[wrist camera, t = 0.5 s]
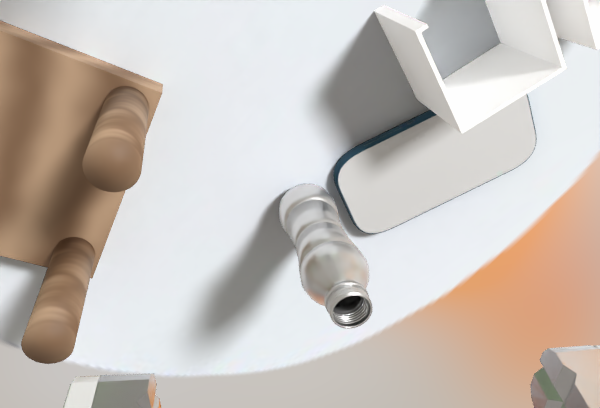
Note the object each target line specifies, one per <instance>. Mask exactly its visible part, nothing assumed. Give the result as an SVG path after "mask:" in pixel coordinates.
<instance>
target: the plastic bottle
mask: <svg viewBox="0 0 600 408" xmlns="http://www.w3.org/2000/svg"><path fill="white" fill-rule="evenodd" d="M279 219H280V223H281V225H282V227H283V228H284V230H285V232H286V233H287V234H288V236H289V237H290V238H291V240H292V242H293V244H294V246H295V248H296V252H297V256H298V261H299V271H300V278H301V283H302V286H303V289H304V291H305V292H306V293H307V294H308V295H309V296H310V298H311V299H313V300H314V301H315V302H316V303H318V304H320V305H323V306H325V307H326V309H327V311H328V313H329V314H330V316H331V318H332V320H333V322H334V323H335V324H336V325H338V326H340V327H342V328H355V327H358V326H360V325H362V324H364V323H365V322H366V321H367V320H368V319H369V317H370V316H371V313H372V304H371V301H370V299H369V296H368V293H367V291H366V287H367V285H368V282H369V267H368V263H367V261H366V259H365V257H364V256H363V254H362V253H361V252H360V250H359V249H358V248H357V247H356V246H355V245H354V243H353V242H352V241H351V240H350V239H349V238H348V236H347V234H346V233H345V231H344V230H343V228H342V226H341V223H340V220H339V215H338V210H337V206H336V203H335V200H334V199H333V198H332V196H331V195H330V194H329V193H328V192H327V191H326V190H324V189H323V188H322V187H320V186H317V185H315V184H301V185H297V186H295V187H293V188H291V189H290V190H289V191H287V192H286V193H285V195H284V196H283V197H282V199H281V202H280V206H279Z"/></svg>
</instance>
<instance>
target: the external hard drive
mask: <svg viewBox="0 0 600 408" xmlns="http://www.w3.org/2000/svg"><path fill="white" fill-rule="evenodd" d="M535 146H536V132H535V126H534V122H533V117H532V112H531V108H530V103H529V99H528V95H527V94H525V95H524V96H522V97H520V98H519V99H517V100H516V101H514V102H512V103H511V104H509V105H508V106H506V107H504V108H503V109H501V110H500V111H498V112H496V113H495V114H493V115H492V116H490V117H488V118H487V119H485V120H484V121H482V122H480V123H479V124H477V125H475V126H474V127H472V128H471V129H469V130H467V131H466V132H464V133H463V134H461V133H460V132H459V131H457V130H456V129H455V128H454V127H452V126H451V125H450V124H448V123H447V122H446V121H444V120H443V119H442V118H440V117H439V116H438V115H437V114H435V113H434V112H433V111H431V110H429V111H427V112H425V113H423V114H421V115H419V116H417V117H415V118H413V119H411V120H409V121H407V122H405V123H403V124H401V125H399V126H397V127H395V128H393V129H391V130H389V131H387V132H385V133H383V134H381V135H379V136H377V137H375V138H372V139H370V140H368V141H366V142H364V143H362V144H360V145H358V146H356V147H355V148H353V149H351V150H350V151H348V152H347V153H345V154H344V155H343V156H342V157H341V158H340V159H339V161H338V162H337V164H336V166H335V169H334V181H335V184H336V187H337V189H338V191H339V194H340V196H341V198H342V200H343V202H344V204H345V207H346V209H347V211H348V213H349V215H350V218H351V219H352V221H353V223H354V225H355V226H356V227H357V228H358V229H359V230H361V231H362V232H365V233H368V234H375V233H381V232H384V231H387V230H390V229H392V228H394V227H396V226H398V225H400V224H402V223H404V222H407V221H409V220H411V219H413V218H415V217H417V216H419V215H421V214H423V213H425V212H427V211H429V210H431V209H433V208H435V207H437V206H439V205H441V204H444V203H446V202H448V201H450V200H452V199H454V198H456V197H458V196H460V195H462V194H464V193H466V192H468V191H470V190H472V189H474V188H476V187H479V186H481V185H483V184H485V183H487V182H489V181H491V180H493V179H495V178H497V177H499V176H501V175H503V174H505V173H507V172H509V171H511V170H513V169H515V168H517V167H518V166H520V165H521V164H523V163H524V162H525V161H526V160H527V159H528V158H529V157H530V156H531V155H532V153H533V151H534V149H535Z"/></svg>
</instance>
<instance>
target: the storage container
mask: <svg viewBox="0 0 600 408" xmlns="http://www.w3.org/2000/svg"><path fill="white" fill-rule="evenodd" d="M485 3H486V5H487V8H488V11H489V13H490V16H491V19H492V21H493V24H494V27H495V29H496V32H497V35H498V37H499V40H500V44H498V45H497V46H495V47H493V48H492V49H490V50H489V51H487V52H486V53H484V54H482V55H481V56H479V57H478V58H476V59H475V60H473V61H471V62H470V63H468V64H467V65H465V66H464V67H462V68H460V69H459V70H457V71H456V72H454V73H452V74H451V75H449V76H448V77H446V78H445V79H443V80H442V78H441V76H440V74H439V72H438V69H437V67H436V65H435V63H434V60H433V58H432V56H431V54H430V52H429V49H428V47H427V45H426V43H425V41H424V38H423V36H422V34H421V32H423V31H424V30H426V29H427V28H428V25H427V24H426V23H424V22H422V21H420V20H417V19H415V18H413V17H410V16H408V15H406V14H404V13H401V12H399V11H397V10H394V9H392V8H390V7H388V6H385V5H382V6H381V7H379V8H378V9H376V10H375V11H374V12H375V14H376V16H377V18H378V20H379V23H380V25H381V27H382V29H383V31H384V33H385V35H386V37H387V39H388V41H389V43H390V45H391V47H392V49H393V51H394V53H395V55H396V57H397V59H398V61H399V63H400V65H401V68H402V70H403V72H404V74H405V76H406V78H407V80H408V82H409V84H410V86H411V88H412V90H413V92H414V94H415V96H416V98H417V100H418V101H420V102H421V103H422V104H424V105H425V106H426V107H427V108H429V109H430V110H431V111H433V112H434V113H435V114H437V115H438V116H439V117H440V118H442V119H443V120H444V121H446V122H447V123H448V124H450V125H451V126H452V127H454V128H455V129H456V130H457V131H459V132H460V133H461V134H463V133H464V132H466V131H467V130H469V129H471V128H472V127H474V126H475V125H477V124H479V123H480V122H482V121H484V120H485V119H487V118H488V117H490V116H492V115H493V114H495V113H496V112H498V111H500V110H501V109H503V108H504V107H506V106H508V105H509V104H511V103H512V102H514V101H516V100H517V99H519V98H520V97H522V96H524V95H525V94H527V93H528V92H530V91H532V90H533V89H535V88H536V87H538V86H540V85H541V84H543V83H544V82H546V81H548V80H549V79H551V78H552V77H554V76H556V75H557V74H559V73H561V72H562V71H564V70H565V69H567V68H566V64H565V61H564V58H563V55H562V51H561V48H560V45H559V42H558V39H557V37H558V38H561V39H564V40H567V41H570V42H574V43H577V44H580V45H583V46H586V47H589V48H592V49H595V50H597V49H599V48H600V0H485Z"/></svg>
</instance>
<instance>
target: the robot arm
mask: <svg viewBox="0 0 600 408" xmlns="http://www.w3.org/2000/svg"><path fill="white" fill-rule="evenodd" d="M540 362H541V364H542V365H543V368H541V369H540V370H539V371H537V372H536V373H535V374H534V376H533V379H532V382H531V398H532V401H533V405H534V408H600V345H598V346H590V345H588V346H576V347H563V348H562V347H561V348H549V349H547V350H545V351H544V352H543V353H542V356H541V358H540ZM156 385H157V384H156V380H155V376H154V374H126V375H100V376H80V377H75V378H74V380H73V381H72V383H71V384H70V387H69V390H68V394H67V397H66V400H65V403H64V406H63V408H161V404H160V399H159V398H158V397H157V396H156V395H155V391H156Z"/></svg>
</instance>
